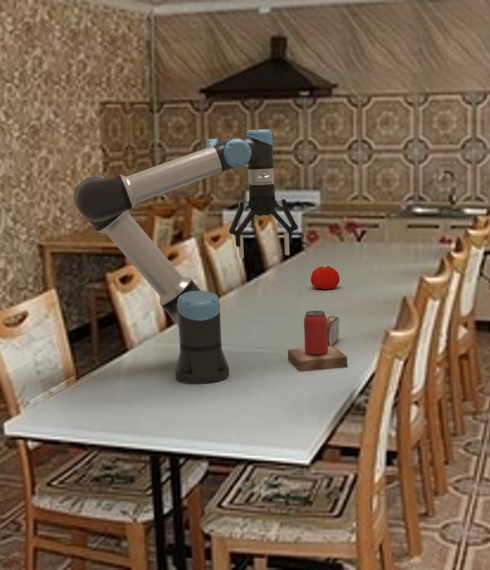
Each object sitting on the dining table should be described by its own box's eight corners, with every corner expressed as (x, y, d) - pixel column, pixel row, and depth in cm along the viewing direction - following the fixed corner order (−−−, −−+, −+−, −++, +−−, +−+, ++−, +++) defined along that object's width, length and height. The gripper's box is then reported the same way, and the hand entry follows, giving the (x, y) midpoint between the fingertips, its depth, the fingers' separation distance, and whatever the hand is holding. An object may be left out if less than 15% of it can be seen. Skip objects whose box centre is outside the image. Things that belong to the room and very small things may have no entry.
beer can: (332, 352, 276) (331, 311, 274) (318, 357, 271) (316, 315, 269) (314, 349, 281) (313, 309, 279) (300, 354, 276) (298, 313, 274)
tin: (331, 338, 306) (330, 313, 305) (341, 339, 305) (340, 313, 304) (320, 350, 292) (319, 323, 291) (330, 350, 291) (329, 323, 290)
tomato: (311, 286, 400) (311, 265, 399) (340, 286, 398) (339, 264, 397) (309, 291, 390) (309, 269, 388) (339, 291, 388) (338, 269, 386)
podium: (299, 371, 269) (299, 361, 268) (288, 359, 282) (287, 349, 282) (347, 366, 271) (347, 356, 271) (333, 355, 285) (333, 345, 284)
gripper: (221, 186, 270) (224, 260, 274) (306, 181, 275) (309, 254, 278) (216, 185, 278) (220, 257, 281) (300, 180, 282) (302, 251, 286)
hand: (264, 256), depth 280 cm, fingers open, 13 cm apart
